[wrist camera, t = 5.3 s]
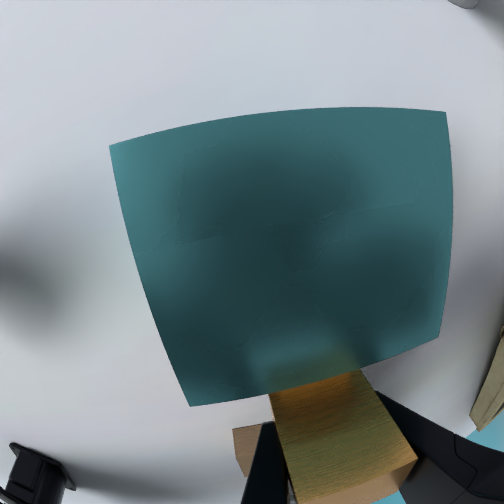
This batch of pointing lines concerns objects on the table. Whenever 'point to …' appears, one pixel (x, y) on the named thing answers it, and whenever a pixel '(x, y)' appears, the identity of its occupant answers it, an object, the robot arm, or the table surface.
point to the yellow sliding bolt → (340, 442)
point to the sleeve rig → (289, 245)
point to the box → (491, 391)
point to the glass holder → (465, 3)
